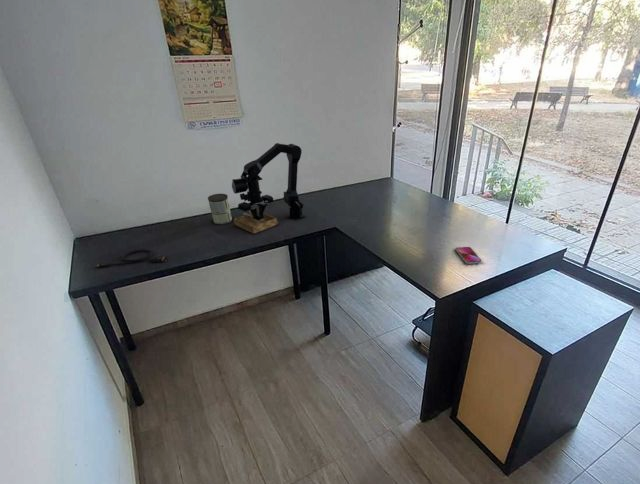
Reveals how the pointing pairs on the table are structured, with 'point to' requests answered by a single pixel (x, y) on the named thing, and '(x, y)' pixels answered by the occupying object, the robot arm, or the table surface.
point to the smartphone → (468, 255)
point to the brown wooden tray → (255, 223)
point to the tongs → (259, 216)
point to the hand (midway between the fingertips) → (258, 218)
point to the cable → (154, 259)
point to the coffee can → (220, 208)
